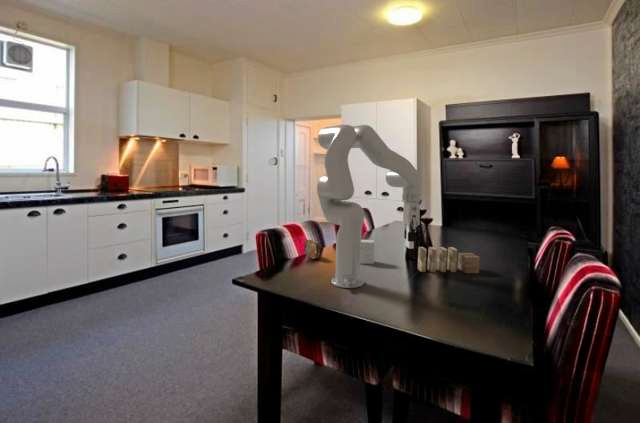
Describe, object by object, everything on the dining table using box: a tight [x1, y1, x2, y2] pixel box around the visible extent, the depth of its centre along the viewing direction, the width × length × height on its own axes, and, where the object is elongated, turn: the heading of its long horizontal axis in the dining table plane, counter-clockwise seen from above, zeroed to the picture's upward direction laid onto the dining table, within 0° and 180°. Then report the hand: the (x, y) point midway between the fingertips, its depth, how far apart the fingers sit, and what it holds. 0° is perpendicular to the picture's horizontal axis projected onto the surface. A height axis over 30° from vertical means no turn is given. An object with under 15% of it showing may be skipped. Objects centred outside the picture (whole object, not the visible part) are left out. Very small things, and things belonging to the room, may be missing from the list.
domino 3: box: [426, 246, 438, 273], centre depth 160 cm, size 2×5×10 cm, turn 2°
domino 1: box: [405, 224, 415, 250], centre depth 159 cm, size 2×5×10 cm, turn 2°
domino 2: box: [417, 246, 428, 273], centre depth 160 cm, size 2×5×10 cm, turn 2°
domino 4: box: [436, 246, 448, 273], centre depth 161 cm, size 2×5×10 cm, turn 2°
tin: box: [303, 239, 322, 260], centre depth 181 cm, size 15×3×8 cm, turn 25°
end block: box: [457, 252, 481, 274], centre depth 161 cm, size 8×6×7 cm
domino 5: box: [446, 246, 458, 273], centre depth 161 cm, size 2×5×10 cm, turn 2°
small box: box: [360, 239, 375, 265], centre depth 172 cm, size 8×6×10 cm
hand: (409, 239), depth 159 cm, fingers closed on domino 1, 4 cm apart
